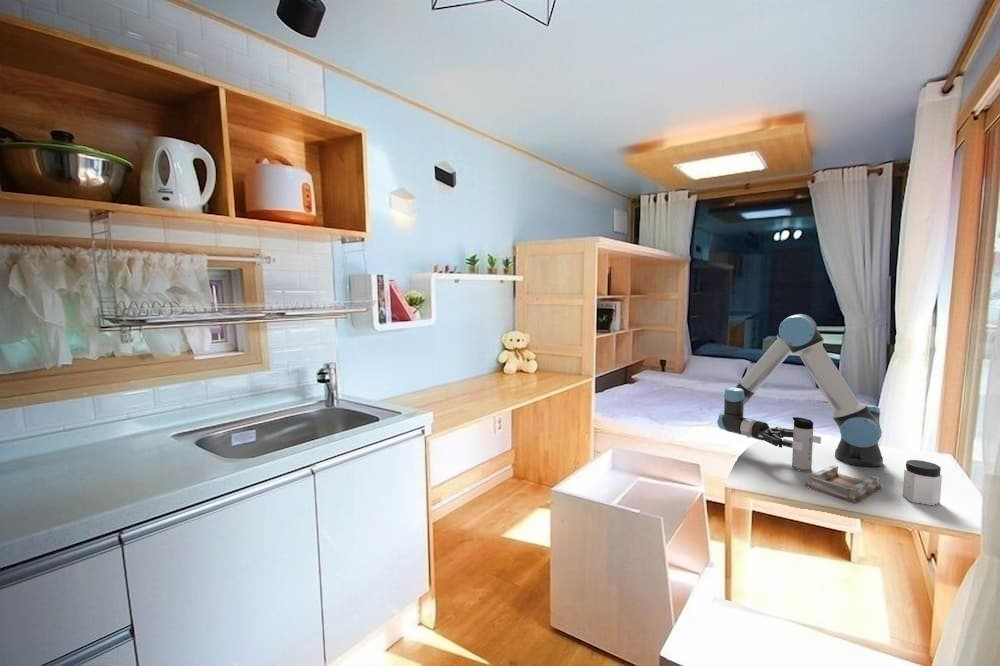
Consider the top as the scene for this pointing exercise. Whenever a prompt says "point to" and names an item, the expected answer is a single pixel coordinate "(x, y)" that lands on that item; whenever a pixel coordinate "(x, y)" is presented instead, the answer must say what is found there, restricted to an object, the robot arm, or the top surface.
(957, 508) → the top surface
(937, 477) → the jar
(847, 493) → the tray
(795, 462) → the travel mug
